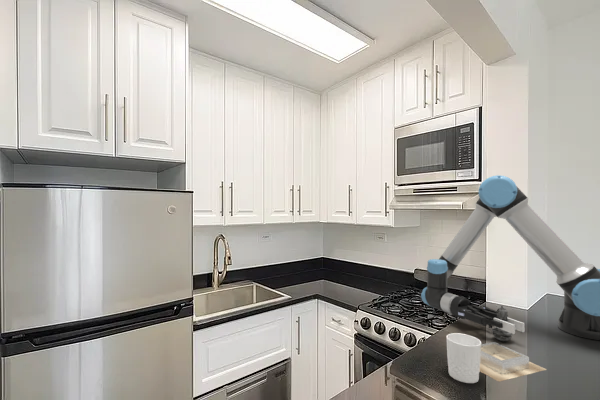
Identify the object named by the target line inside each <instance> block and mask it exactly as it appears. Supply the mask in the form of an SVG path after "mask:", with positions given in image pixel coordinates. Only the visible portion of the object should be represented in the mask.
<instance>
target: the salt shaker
mask: <svg viewBox="0 0 600 400" xmlns="http://www.w3.org/2000/svg"><path fill="white" fill-rule="evenodd" d="M496 311H497V319H500V320H503V321H506V322H508V320H507V315H508V310H507V309H506V308H504V306H503V305H500V307H498V308H497V309H496ZM490 329H491V332H492V336H493V337H494V338H495V339H496V340H497V341H498V342H500V343H507V342H509V341H510V340H511V339H512V337H513V335H514V334H512V333H509V332H507V331H504V330H502V329H499V328H496V327H494V328H493V327H492V328H490Z"/></svg>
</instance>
